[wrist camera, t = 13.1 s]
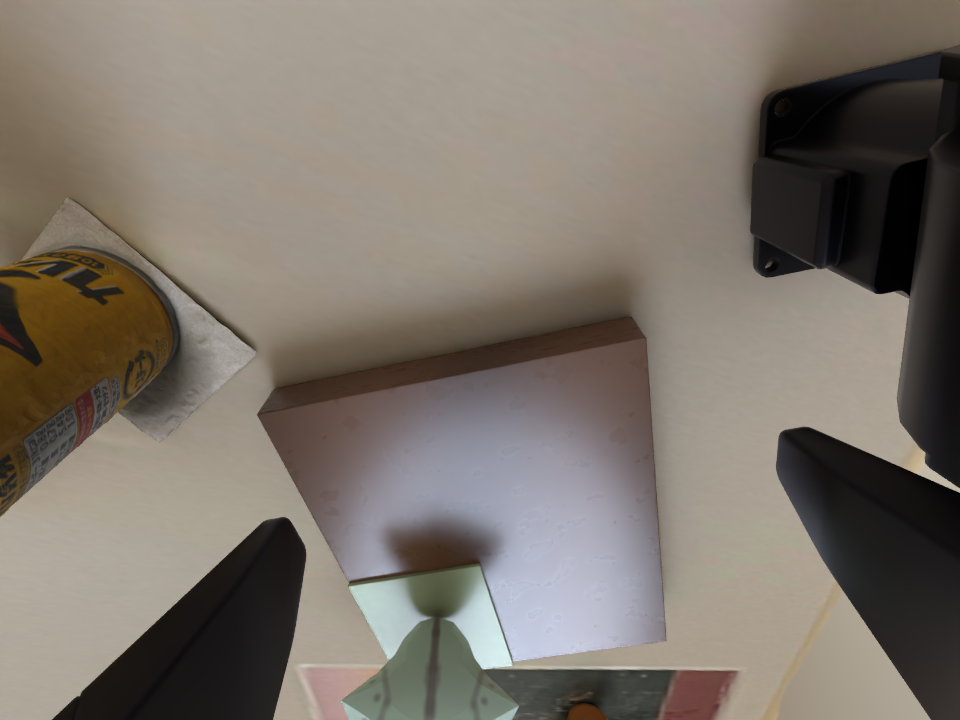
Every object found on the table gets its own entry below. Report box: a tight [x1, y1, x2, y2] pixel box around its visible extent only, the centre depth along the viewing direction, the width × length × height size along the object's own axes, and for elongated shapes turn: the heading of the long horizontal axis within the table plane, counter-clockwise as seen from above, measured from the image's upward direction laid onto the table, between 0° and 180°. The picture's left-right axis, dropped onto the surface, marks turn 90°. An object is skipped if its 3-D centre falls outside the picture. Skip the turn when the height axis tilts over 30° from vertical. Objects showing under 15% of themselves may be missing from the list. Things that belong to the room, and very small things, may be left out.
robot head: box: [341, 617, 519, 720], centre depth 24 cm, size 8×4×7 cm, turn 86°
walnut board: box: [257, 317, 666, 669], centre depth 25 cm, size 16×20×2 cm
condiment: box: [0, 197, 257, 517], centre depth 15 cm, size 7×8×12 cm
